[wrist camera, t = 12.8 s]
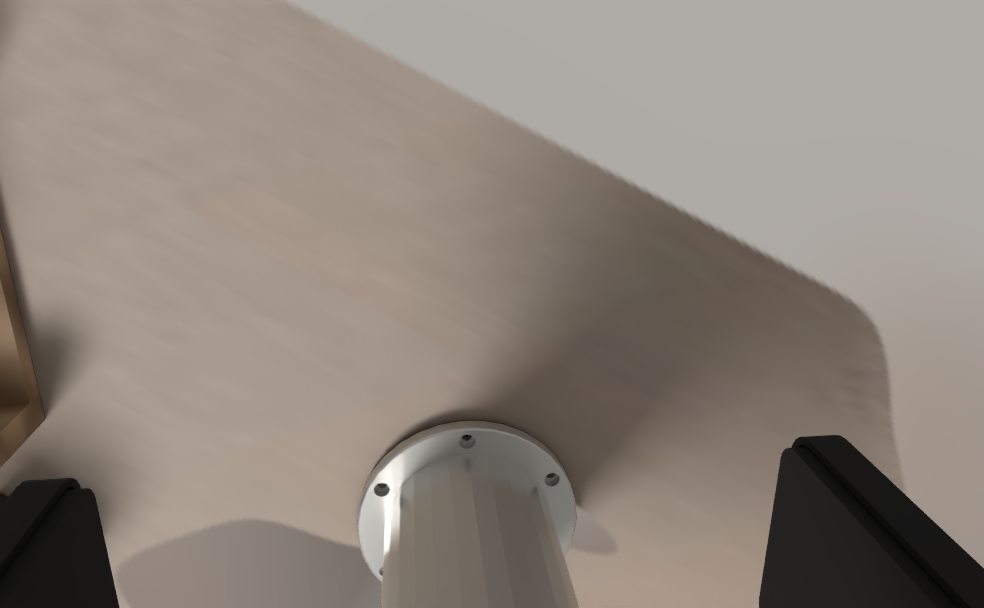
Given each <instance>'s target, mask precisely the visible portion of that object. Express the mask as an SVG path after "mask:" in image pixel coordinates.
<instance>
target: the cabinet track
mask: <svg viewBox="0 0 984 608" xmlns="http://www.w3.org/2000/svg"><path fill="white" fill-rule="evenodd" d="M44 420H45V416H44V412H43V408H42V403H41V399H40V395H39V390H38V386H37V382H36V378H35V373H34V369H33V365H32V361H31V356H30V352H29V348H28V344H27V339H26V335H25V331H24V327H23V322H22V318H21V314H20V310H19V305H18V301H17V297H16V293H15V288H14V284H13V280H12V276H11V271H10V267H9V263H8V258H7V254H6V250H5V246H4V241H3V237H2V233H1V229H0V467H1V466H2V465H3V464H4V463H5V462H6V461H7V460H8V459H9V458H10V457H11V456H12V455H13V453H14V452H15V451H16V450H17V449H18V448H19V447H20V446H21V445H22V444H23V443H24V442H25V441H26V440H27V438H28V437H29V436H30V435H31V434H32V433H33V432H34V431H35V430H36V429H37V428H38V427H39V426H40V424H41V423H42V422H43V421H44Z"/></svg>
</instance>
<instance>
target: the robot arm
mask: <svg viewBox="0 0 984 608" xmlns="http://www.w3.org/2000/svg"><path fill="white" fill-rule="evenodd" d="M464 435H469V436H467V437H464ZM550 473H551V474H550ZM380 483H384V484H380ZM576 518H577V517H576V502H575V497H574V494H573V491H572V487H571V484H570V482H569V479H568V477H567V475H566V472H565V470H564V468H563V466H562V465H561V464H560V462H559V461H558V460H557V458H556V457H555V455H554V454H553V453H552V452H551V451H550V450H549V449H548V448H546V447H545V446H544V445H543V444H542V443H541V442H540V441H538V440H537V439H535V438H533V437H531V436H530V435H528V434H526V433H525V432H523V431H521V430H518V429H515V428H512V427H509V426H506V425H504V424H498V423H492V422H486V421H458V422H453V423H447V424H442V425H438V426H435V427H432V428H429V429H427V430H424V431H421V432H418V433H417V434H415V435H413V436H411V437H410V438H408V439H406V440H404V441H403V442H401V443H400V444H398V445H397V446H396V447H395V448H394V449H392V450H391V451H390V452H389V453H388V454H386V455H385V456H384V457H383V459H382V460H381V461H380V462H379V464H378V465H377V466H376V467H375V468H374V470H373V471H372V473H371V474H370V476H369V478H368V480H367V482H366V484H365V486H364V488H363V491H362V495H361V499H360V502H359V507H358V518H357V532H358V542H359V545H360V548H361V551H362V555H363V558H364V559H365V561H366V563H367V564H368V566H369V568H370V570H371V571H372V573H373V574H374V575H375V576H376V577H377V578H378V579H379V581H380V582H381V583H382V598H381V608H579V605H578V602H577V599H576V595H575V592H574V588H573V585H572V582H571V578H570V575H569V571H568V568H567V565H566V561H565V558H564V556H565V555H566V553H567V551H568V549H569V546H570V544H571V541H572V538H573V536H574V531H575V524H576ZM0 608H119V604H118V599H117V595H116V590H115V586H114V581H113V576H112V572H111V567H110V563H109V558H108V553H107V549H106V544H105V540H104V535H103V530H102V526H101V521H100V517H99V512H98V507H97V503H96V499H95V496H94V493H93V492H92V490H90V489H88V488H87V489H81V487H80V484H79V483H78V482H77V480H75V479H73V478H64V479H46V480H29V481H24V482H22V483H21V484H20V485H19V486H18V487H17V488H16V489H15V490H14V491H13V492H12V494H11V495H10V496H9V497H8V498H7V499H6V501H5V502H4V503H3V504H2V505H1V507H0ZM759 608H984V568H982V567H981V566H980V565H979V564H978V563H977V562H976V561H975V560H974V559H973V558H972V557H971V556H970V555H969V554H968V553H967V552H966V551H964V550H963V549H962V548H961V547H960V546H959V545H958V544H957V543H956V542H955V541H954V540H953V539H952V538H951V537H949V536H948V535H947V534H946V533H945V532H944V531H943V530H942V529H941V528H940V527H939V526H938V525H937V524H936V523H935V522H934V521H933V520H931V519H930V518H929V517H928V516H927V515H926V514H925V513H924V512H923V511H922V510H921V509H920V508H919V507H918V506H917V505H915V504H914V503H913V502H912V501H911V500H910V499H909V498H908V497H907V496H906V495H905V494H904V493H903V492H902V491H901V490H900V489H898V488H897V487H896V486H895V485H894V484H893V483H892V482H891V481H890V480H889V479H888V478H887V477H886V476H885V475H884V474H882V473H881V472H880V471H879V470H878V469H877V468H876V467H875V466H874V465H873V464H872V463H871V462H870V461H869V460H868V459H867V458H865V457H864V456H863V455H862V454H861V453H860V452H859V451H858V450H857V449H856V448H855V447H854V446H853V445H852V444H851V443H849V442H848V441H847V440H846V439H845V438H843V437H842V436H840V435H827V436H810V437H799V438H797V439H796V440H795V441H794V443H793V445H792V448H787V449H785V450H784V451H783V453H782V456H781V460H780V467H779V473H778V480H777V486H776V493H775V499H774V506H773V512H772V519H771V525H770V532H769V538H768V544H767V551H766V557H765V564H764V570H763V577H762V583H761V590H760V596H759Z"/></svg>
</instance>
